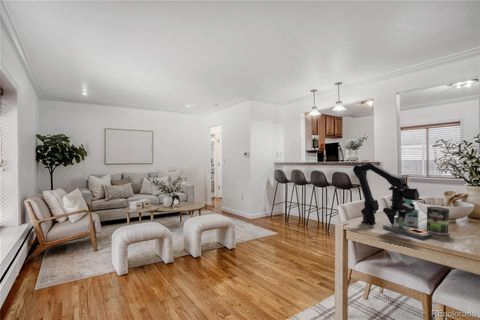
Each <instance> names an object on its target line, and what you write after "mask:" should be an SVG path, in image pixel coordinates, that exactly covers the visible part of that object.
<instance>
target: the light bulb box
mask: <svg viewBox="0 0 480 320" xmlns="http://www.w3.org/2000/svg"><path fill="white" fill-rule="evenodd" d="M419 211H420V210H419V209H417V208H415V210H413V212H412V213H411V212H410V213H408V214H406V216H405V219H404V221H403V225H404V226H406V227H416V228H417V227H419V214H420V213H419Z"/></svg>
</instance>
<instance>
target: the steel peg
mask: <svg viewBox="0 0 480 320" xmlns="http://www.w3.org/2000/svg"><path fill="white" fill-rule="evenodd" d="M403 226H404V224H403V217H400V216H395V218H394V224H393V225H392V227H396V228H403Z"/></svg>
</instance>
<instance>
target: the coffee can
mask: <svg viewBox="0 0 480 320" xmlns="http://www.w3.org/2000/svg"><path fill="white" fill-rule="evenodd" d="M449 224H450V209H449V208H445V207H441V206H427V207H426V232H429V233H433V234H436V235H446V236H447V235H449Z"/></svg>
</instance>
